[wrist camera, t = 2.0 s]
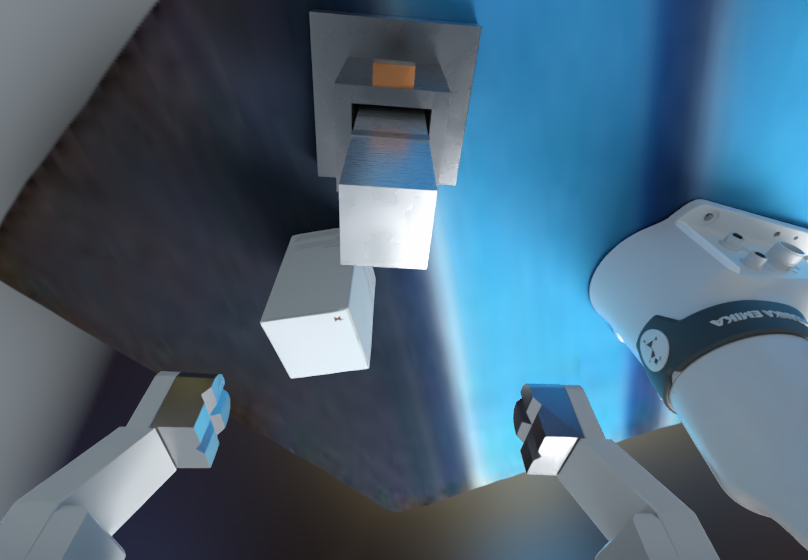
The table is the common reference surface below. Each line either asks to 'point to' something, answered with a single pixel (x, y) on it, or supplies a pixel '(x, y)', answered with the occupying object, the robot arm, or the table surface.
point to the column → (387, 190)
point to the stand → (391, 80)
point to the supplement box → (320, 308)
